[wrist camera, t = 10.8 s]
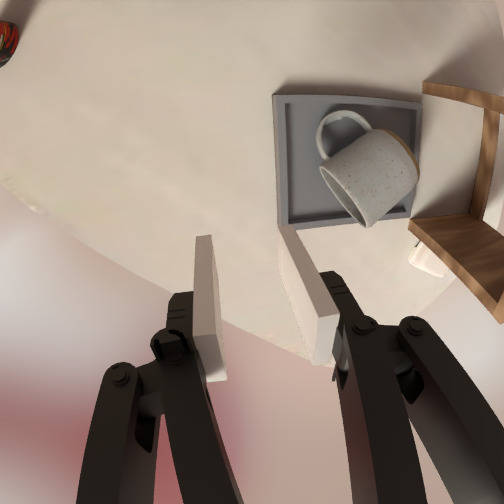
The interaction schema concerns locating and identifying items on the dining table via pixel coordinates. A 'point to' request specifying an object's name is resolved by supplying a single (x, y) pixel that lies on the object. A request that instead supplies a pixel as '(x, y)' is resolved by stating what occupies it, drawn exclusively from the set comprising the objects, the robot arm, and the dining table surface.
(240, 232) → the dining table surface
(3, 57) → the deodorant
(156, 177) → the dining table surface
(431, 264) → the soap
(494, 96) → the wooden cube shelf
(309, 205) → the tray
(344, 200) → the ceramic mug
